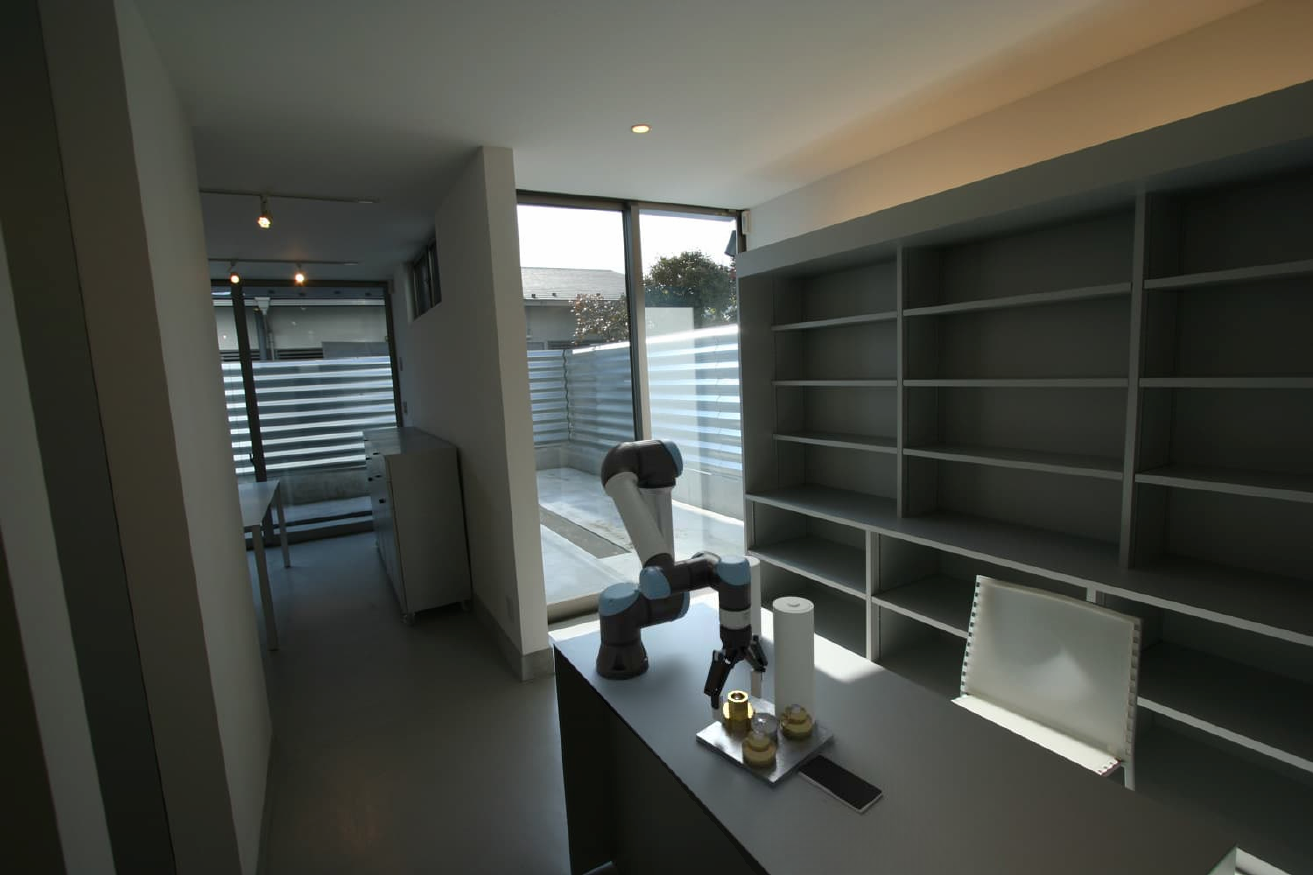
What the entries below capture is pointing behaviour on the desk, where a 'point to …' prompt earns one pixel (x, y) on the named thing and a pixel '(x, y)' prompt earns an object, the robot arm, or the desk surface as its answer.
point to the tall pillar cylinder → (755, 595)
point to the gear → (738, 711)
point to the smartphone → (840, 783)
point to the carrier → (768, 742)
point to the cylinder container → (793, 655)
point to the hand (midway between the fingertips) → (737, 708)
